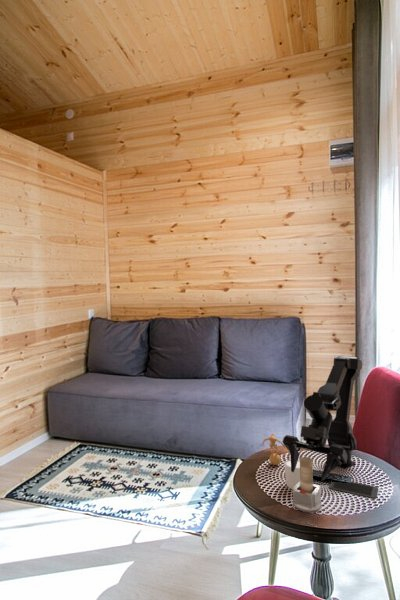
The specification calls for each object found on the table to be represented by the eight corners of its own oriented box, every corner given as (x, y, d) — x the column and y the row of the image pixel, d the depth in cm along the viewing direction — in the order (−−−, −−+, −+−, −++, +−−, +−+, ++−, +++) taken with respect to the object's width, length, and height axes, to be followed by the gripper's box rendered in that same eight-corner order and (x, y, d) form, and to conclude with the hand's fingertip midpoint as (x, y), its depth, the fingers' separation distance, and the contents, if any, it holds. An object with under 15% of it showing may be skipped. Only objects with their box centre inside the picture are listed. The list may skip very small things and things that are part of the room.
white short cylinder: (307, 491, 128) (306, 469, 127) (284, 489, 129) (284, 468, 129) (305, 480, 134) (305, 459, 134) (284, 479, 136) (284, 458, 135)
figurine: (287, 464, 147) (287, 431, 146) (284, 471, 141) (283, 437, 141) (265, 460, 150) (264, 428, 150) (260, 467, 145) (259, 434, 144)
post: (303, 495, 122) (302, 456, 122) (315, 498, 120) (314, 458, 120) (298, 500, 119) (297, 460, 119) (310, 504, 117) (309, 463, 117)
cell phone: (376, 500, 122) (375, 498, 122) (328, 489, 129) (328, 487, 129) (378, 489, 128) (378, 487, 128) (333, 479, 135) (333, 477, 135)
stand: (299, 495, 125) (299, 477, 125) (325, 502, 121) (324, 484, 120) (288, 506, 119) (288, 488, 119) (315, 515, 114) (314, 496, 114)
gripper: (284, 409, 129) (268, 456, 121) (343, 419, 118) (331, 472, 110) (294, 426, 136) (281, 472, 127) (352, 438, 125) (341, 488, 116)
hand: (306, 475), depth 120 cm, fingers open, 9 cm apart
